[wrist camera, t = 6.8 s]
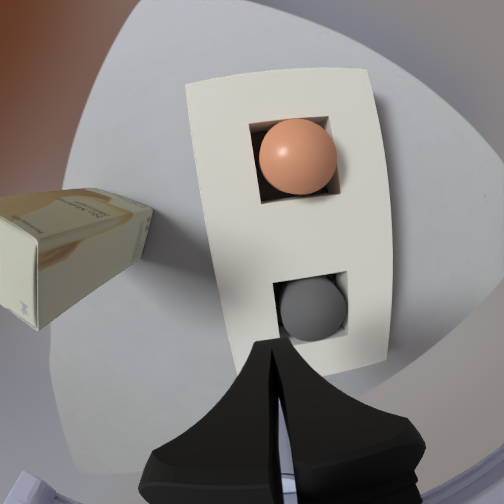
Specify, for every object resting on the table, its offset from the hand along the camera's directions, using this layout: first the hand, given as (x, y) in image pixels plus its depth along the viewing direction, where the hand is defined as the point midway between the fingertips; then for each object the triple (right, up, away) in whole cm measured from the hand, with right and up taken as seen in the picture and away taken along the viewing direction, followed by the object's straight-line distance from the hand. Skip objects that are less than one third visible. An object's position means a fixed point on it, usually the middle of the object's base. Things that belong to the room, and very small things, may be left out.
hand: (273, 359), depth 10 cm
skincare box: (-12, +7, +9) cm, 16 cm away
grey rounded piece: (+3, +1, +10) cm, 11 cm away
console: (+2, +6, +9) cm, 11 cm away
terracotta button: (+2, +10, +7) cm, 13 cm away
